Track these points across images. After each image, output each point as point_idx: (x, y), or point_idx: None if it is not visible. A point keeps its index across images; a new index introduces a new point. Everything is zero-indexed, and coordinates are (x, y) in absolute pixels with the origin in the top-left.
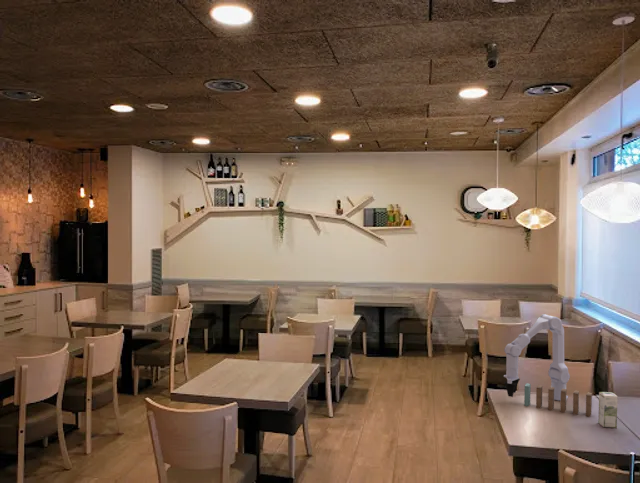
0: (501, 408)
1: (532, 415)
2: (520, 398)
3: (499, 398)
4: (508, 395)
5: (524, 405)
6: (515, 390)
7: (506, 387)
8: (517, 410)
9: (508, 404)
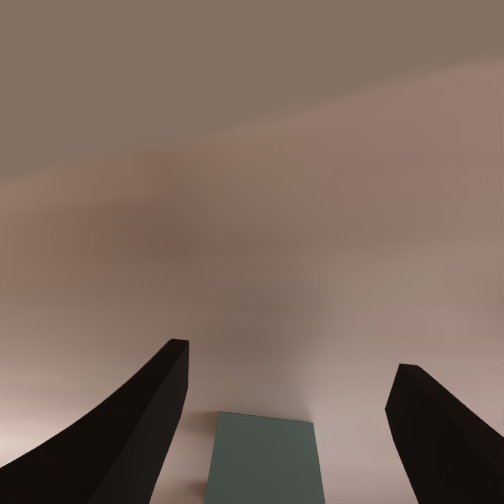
0: (2, 231)
1: (4, 458)
2: (452, 381)
3: (382, 173)
4: (164, 348)
5: (219, 415)
6: (397, 442)
7: (44, 445)
8: (48, 367)
9: (184, 288)
